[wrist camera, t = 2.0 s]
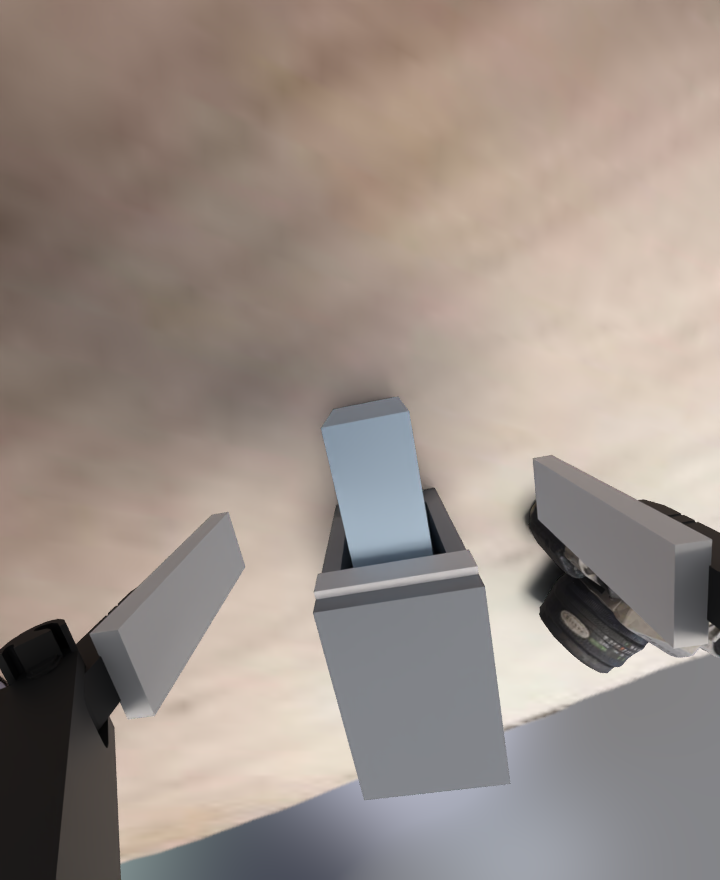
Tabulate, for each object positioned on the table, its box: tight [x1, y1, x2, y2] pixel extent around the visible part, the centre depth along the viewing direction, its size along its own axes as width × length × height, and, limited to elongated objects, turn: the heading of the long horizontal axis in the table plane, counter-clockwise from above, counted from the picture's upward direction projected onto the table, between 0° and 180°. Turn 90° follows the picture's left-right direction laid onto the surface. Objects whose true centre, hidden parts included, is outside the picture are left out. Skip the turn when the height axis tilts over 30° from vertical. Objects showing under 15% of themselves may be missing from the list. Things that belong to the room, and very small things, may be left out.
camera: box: [528, 502, 720, 673], centre depth 27 cm, size 16×10×10 cm, turn 58°
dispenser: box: [313, 488, 510, 800], centre depth 25 cm, size 14×9×13 cm, turn 11°
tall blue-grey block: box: [321, 397, 433, 568], centre depth 24 cm, size 18×5×7 cm, turn 11°
